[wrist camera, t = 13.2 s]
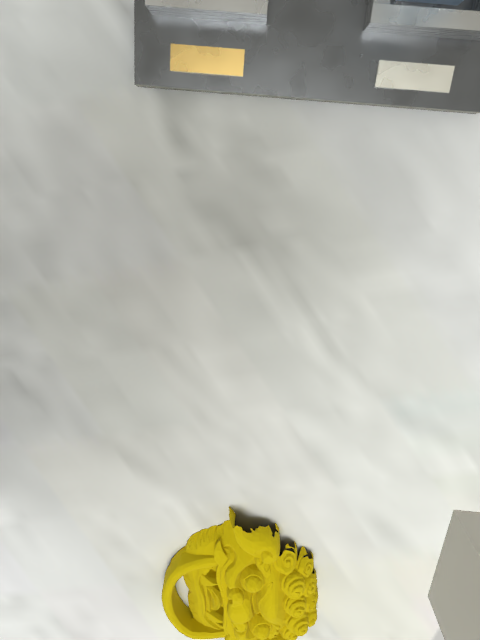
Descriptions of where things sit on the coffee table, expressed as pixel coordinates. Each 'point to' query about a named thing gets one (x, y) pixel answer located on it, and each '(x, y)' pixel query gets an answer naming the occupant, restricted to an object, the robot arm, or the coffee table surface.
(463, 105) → the panel
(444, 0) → the plug
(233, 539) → the door knocker
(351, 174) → the coffee table surface
